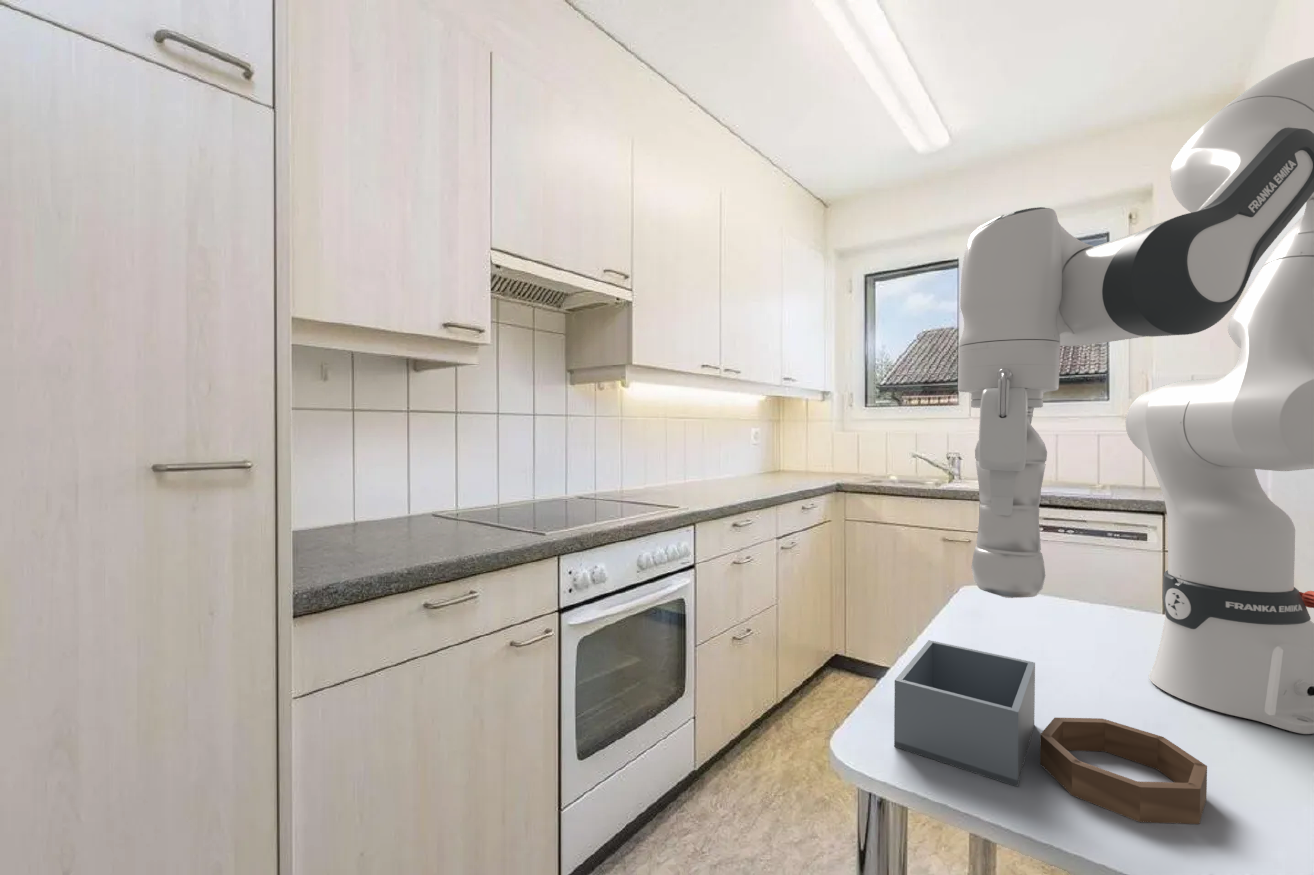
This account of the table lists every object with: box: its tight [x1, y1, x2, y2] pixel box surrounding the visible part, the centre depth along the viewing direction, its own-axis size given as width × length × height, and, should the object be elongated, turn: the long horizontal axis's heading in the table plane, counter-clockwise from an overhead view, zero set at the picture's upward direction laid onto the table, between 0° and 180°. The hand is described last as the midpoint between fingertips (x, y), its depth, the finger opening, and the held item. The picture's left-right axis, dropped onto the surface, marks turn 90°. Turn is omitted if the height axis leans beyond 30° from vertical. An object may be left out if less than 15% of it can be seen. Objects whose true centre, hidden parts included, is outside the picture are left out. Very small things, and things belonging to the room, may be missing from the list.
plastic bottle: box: [971, 407, 1048, 599], centre depth 60 cm, size 6×7×20 cm
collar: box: [1039, 717, 1208, 825], centre depth 55 cm, size 12×12×3 cm
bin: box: [893, 639, 1036, 788], centre depth 63 cm, size 14×11×7 cm
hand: (1002, 509), depth 60 cm, fingers closed on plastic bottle, 6 cm apart
